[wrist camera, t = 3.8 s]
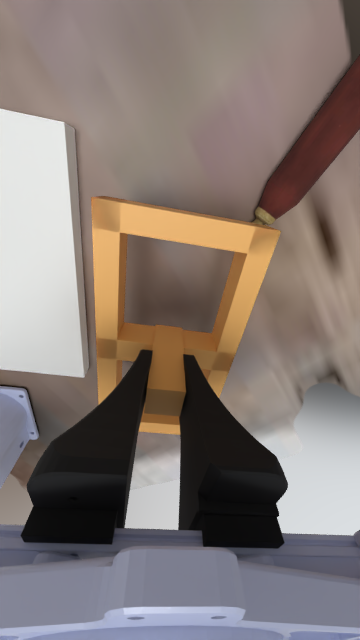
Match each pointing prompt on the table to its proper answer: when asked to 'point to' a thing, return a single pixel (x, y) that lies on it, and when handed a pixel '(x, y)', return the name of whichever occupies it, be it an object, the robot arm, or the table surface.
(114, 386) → the orange link
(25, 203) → the board
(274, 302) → the table surface
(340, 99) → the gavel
